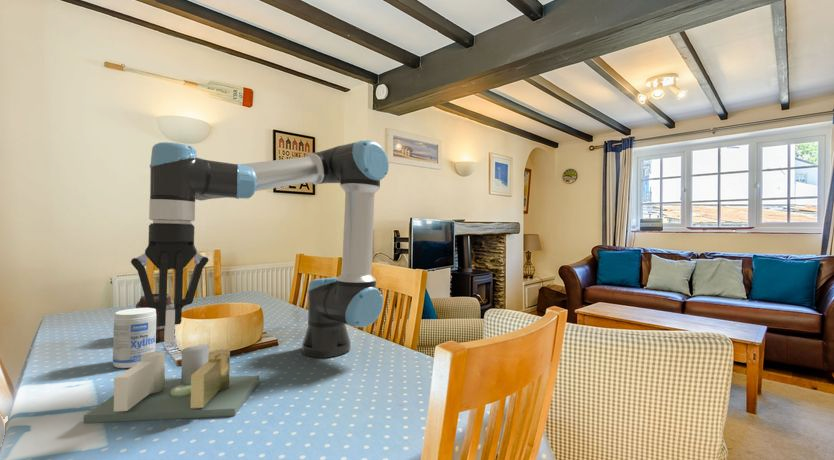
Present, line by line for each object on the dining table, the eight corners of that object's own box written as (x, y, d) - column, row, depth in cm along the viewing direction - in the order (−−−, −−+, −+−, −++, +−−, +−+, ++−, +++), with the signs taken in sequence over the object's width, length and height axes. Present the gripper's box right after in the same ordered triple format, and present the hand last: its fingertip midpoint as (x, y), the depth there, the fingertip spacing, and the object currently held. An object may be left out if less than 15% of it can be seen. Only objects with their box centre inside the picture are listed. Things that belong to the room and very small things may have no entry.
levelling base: (261, 378, 94) (262, 340, 94) (234, 415, 75) (235, 368, 75) (143, 382, 90) (143, 342, 90) (83, 423, 71) (84, 373, 71)
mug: (183, 336, 128) (183, 293, 128) (146, 346, 117) (147, 299, 117) (154, 331, 134) (154, 290, 134) (116, 340, 123) (117, 295, 123)
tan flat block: (232, 383, 86) (232, 349, 86) (208, 410, 74) (209, 370, 74) (212, 383, 86) (213, 349, 86) (185, 411, 73) (185, 371, 73)
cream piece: (168, 385, 85) (169, 350, 85) (132, 413, 72) (133, 373, 72) (147, 386, 84) (148, 351, 84) (108, 414, 71) (108, 373, 71)
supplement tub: (135, 370, 97) (136, 315, 97) (102, 368, 98) (103, 314, 98) (163, 357, 107) (164, 307, 107) (134, 356, 108) (135, 306, 108)
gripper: (207, 223, 79) (204, 332, 79) (130, 221, 71) (127, 342, 71) (212, 223, 73) (209, 340, 73) (130, 221, 65) (126, 352, 65)
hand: (169, 341), depth 72 cm, fingers closed
